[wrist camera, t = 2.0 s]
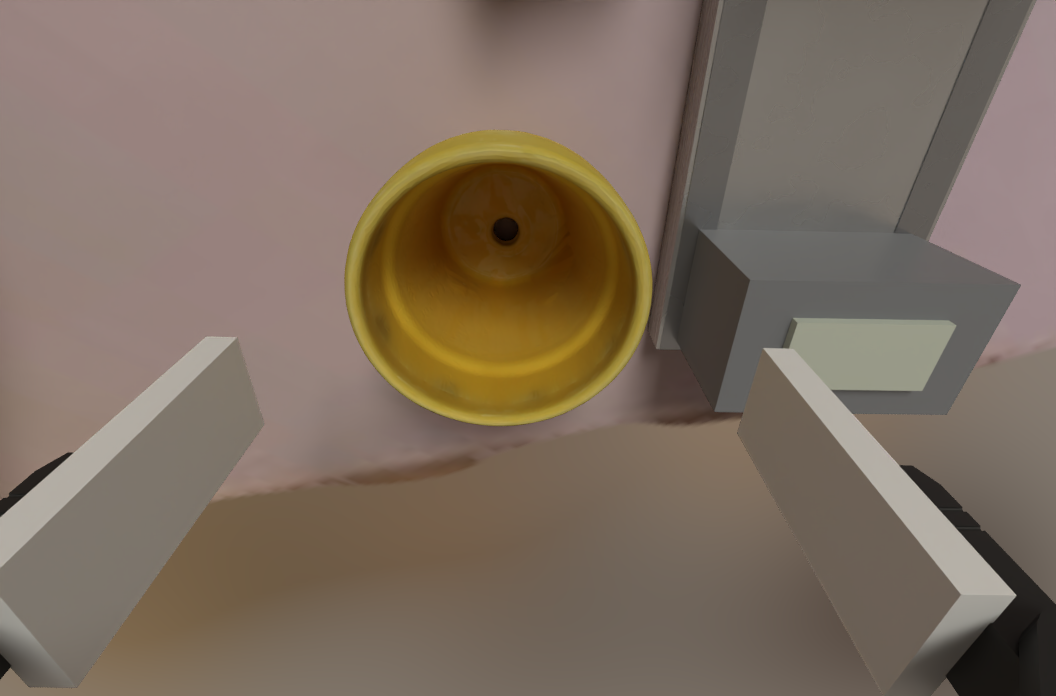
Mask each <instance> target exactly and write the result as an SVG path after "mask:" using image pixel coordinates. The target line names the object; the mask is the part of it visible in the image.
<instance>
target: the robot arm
mask: <svg viewBox="0 0 1056 696" xmlns="http://www.w3.org/2000/svg"><path fill="white" fill-rule="evenodd" d="M263 426H264V421H263V418H262V415H261V412H260V408H259V405H258V402H257V399H256V395H255V392H254V389H253V386H252V383H251V379H250V376H249V373H248V370H247V367H246V363H245V360H244V357H243V354H242V351H241V347H240V344H239V341H238V338H237V337H205V338H204V339H203V340H202V341H201V342H200V343H198V344H197V345H196V346H195V347H194V348H193V349H192V350H190V351H189V352H188V353H187V354H186V355H185V356H184V357H182V358H181V359H180V360H179V361H178V362H177V363H176V364H175V365H173V366H172V367H171V368H170V369H169V370H168V371H167V372H165V373H164V374H163V375H162V376H161V377H160V378H159V379H157V380H156V381H155V382H154V383H153V384H152V385H151V386H149V387H148V388H147V389H146V390H145V391H144V392H143V393H141V394H140V395H139V396H138V397H137V398H136V399H135V400H133V401H132V402H131V403H130V404H129V405H128V406H127V407H125V408H124V409H123V410H122V411H121V412H120V413H119V414H118V415H116V416H115V417H114V418H113V419H112V420H111V421H110V422H108V423H107V424H106V425H105V426H104V427H103V428H102V429H100V430H99V431H98V432H97V433H96V434H95V435H94V436H92V437H91V438H90V439H89V440H88V441H87V442H86V443H84V444H83V445H82V446H81V447H80V448H79V449H78V450H76V451H75V452H74V453H66V454H65V455H63V456H61V457H59V458H58V459H56V460H54V461H52V462H50V463H49V464H47V465H45V466H43V467H42V468H40V469H38V470H36V471H35V472H34V473H32V474H31V475H30V476H29V477H28V478H27V479H25V480H24V481H23V482H22V483H21V484H19V485H18V486H17V487H16V488H15V489H14V490H12V491H11V492H10V493H9V497H8V498H3V499H2V500H0V679H1V678H2V677H3V676H4V674H5V673H6V672H7V671H8V669H9V668H10V667H11V669H12V670H13V671H14V672H15V673H16V674H17V675H18V676H19V677H20V678H21V679H22V680H23V681H24V682H25V683H26V684H27V686H28V687H56V688H57V687H58V688H77V687H78V686H79V684H80V683H81V682H82V680H83V679H84V677H85V676H86V675H87V673H88V672H89V670H90V669H91V668H92V666H93V665H94V663H95V662H96V660H97V659H98V658H99V656H100V655H101V654H102V652H103V651H104V649H105V648H106V646H107V645H108V644H109V642H110V641H111V639H112V638H113V637H114V635H115V634H116V632H117V631H118V629H119V628H120V627H121V625H122V623H123V622H124V621H125V620H126V618H127V617H128V616H129V614H130V613H131V611H132V610H133V608H134V607H135V606H136V604H137V603H138V601H139V600H140V599H141V597H142V596H143V594H144V593H145V592H146V590H147V589H148V587H149V586H150V585H151V583H152V582H153V580H154V579H155V578H156V576H157V575H158V573H159V572H160V571H161V569H162V568H163V566H164V565H165V563H166V562H167V561H168V559H169V558H170V557H171V555H172V554H173V552H174V551H175V550H176V548H177V547H178V545H179V544H180V542H181V541H182V540H183V538H184V537H185V535H186V534H187V533H188V531H189V530H190V528H191V527H192V526H193V524H194V522H195V521H196V520H197V518H198V517H199V516H200V514H201V513H202V512H203V510H204V509H205V507H206V506H207V505H208V503H209V502H210V500H211V499H212V498H213V496H214V495H215V493H216V492H217V490H218V489H219V488H220V486H221V485H222V483H223V482H224V481H225V479H226V478H227V476H228V475H229V474H230V472H231V471H232V469H233V468H234V467H235V465H236V464H237V462H238V461H239V460H240V458H241V457H242V455H243V454H244V453H245V451H246V450H247V448H248V447H249V446H250V444H251V443H252V441H253V440H254V438H255V437H256V436H257V434H258V433H259V431H260V430H261V429H262V427H263ZM737 434H738V436H739V437H740V439H741V441H742V443H743V444H744V446H745V448H746V450H747V452H748V454H749V455H750V457H751V459H752V461H753V463H754V464H755V466H756V468H757V470H758V471H759V473H760V475H761V477H762V479H763V481H764V482H765V484H766V486H767V488H768V489H769V491H770V493H771V495H772V497H773V499H774V500H775V502H776V504H777V506H778V508H779V510H780V511H781V513H782V515H783V517H784V519H785V520H786V522H787V524H788V526H789V528H790V529H791V531H792V533H793V535H794V537H795V538H796V540H797V542H798V544H799V546H800V547H801V549H802V551H803V553H804V554H805V556H806V558H807V560H808V562H809V564H810V565H811V567H812V569H813V571H814V573H815V574H816V576H817V578H818V580H819V582H820V583H821V585H822V587H823V589H824V590H825V592H826V594H827V596H828V598H829V599H830V602H831V603H832V605H833V607H834V608H835V610H836V612H837V614H838V616H839V618H840V620H841V621H842V623H843V625H844V627H845V629H846V630H847V632H848V634H849V636H850V637H851V639H852V641H853V643H854V645H855V647H856V648H857V650H858V652H859V654H860V656H861V657H862V659H863V661H864V663H865V665H866V666H867V668H868V670H869V672H870V674H871V675H872V677H873V679H874V681H875V683H876V684H877V686H878V688H879V690H880V692H881V694H882V695H883V696H931V695H932V694H933V692H934V691H935V690H936V689H937V688H938V687H939V686H940V684H941V683H942V682H943V681H944V680H945V679H946V677H947V679H948V680H949V682H950V683H951V684H952V686H953V687H954V689H955V691H956V692H957V693H958V695H959V696H1056V604H1055V603H1054V602H1053V601H1052V600H1051V599H1050V598H1049V597H1048V596H1047V595H1046V594H1045V593H1044V592H1043V591H1042V590H1041V589H1040V588H1039V587H1038V585H1036V583H1034V581H1033V580H1032V579H1031V578H1030V577H1029V576H1028V575H1027V574H1026V573H1025V572H1024V571H1023V570H1022V569H1021V568H1020V567H1019V566H1018V565H1017V564H1016V563H1015V562H1014V561H1013V559H1012V558H1011V557H1010V556H1009V555H1008V554H1007V553H1006V552H1005V551H1004V550H1003V549H1002V548H1001V547H1000V546H999V545H998V544H997V543H996V542H995V541H994V540H993V539H992V538H991V537H990V536H989V534H988V533H987V532H986V531H981V529H980V525H979V524H978V523H977V522H976V521H975V520H974V519H973V518H972V517H971V516H970V515H969V514H968V513H967V512H963V510H962V506H961V505H960V504H959V503H958V502H957V501H956V500H955V499H954V498H953V497H952V496H951V495H950V494H949V493H948V492H947V491H946V490H945V489H944V488H943V487H942V486H941V485H940V484H939V483H937V482H936V481H934V480H933V479H931V478H930V477H928V476H927V475H925V474H924V473H922V472H921V471H920V470H918V469H917V468H915V467H914V466H903V465H898V464H897V463H896V462H895V461H894V459H893V458H892V457H891V456H890V455H889V454H888V453H887V452H886V451H885V449H884V448H883V447H882V446H881V445H880V444H879V443H878V442H877V441H876V440H875V438H874V437H873V436H872V435H871V434H870V433H869V432H868V431H867V430H866V429H865V427H864V426H863V425H862V424H861V423H860V422H859V421H858V420H857V419H856V417H855V416H854V415H853V414H852V413H851V412H850V411H849V410H848V409H847V407H846V406H845V405H844V404H843V403H842V402H841V401H840V400H839V399H838V397H837V396H836V395H835V394H834V393H833V392H832V391H831V390H830V389H829V388H828V386H827V385H826V384H825V383H824V382H823V381H822V380H821V379H820V378H819V376H818V375H817V374H816V373H815V372H814V371H813V370H812V369H811V368H810V367H809V365H808V364H807V363H806V362H805V361H804V360H803V359H802V358H801V357H800V355H799V354H798V353H797V352H796V351H795V350H794V349H785V348H763V350H762V353H761V356H760V360H759V363H758V366H757V370H756V373H755V376H754V379H753V383H752V386H751V389H750V392H749V396H748V399H747V402H746V405H745V409H744V412H743V415H742V419H741V422H740V425H739V428H738V432H737Z"/></svg>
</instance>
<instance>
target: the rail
mask: <svg viewBox="0 0 1056 696" xmlns="http://www.w3.org/2000/svg"><path fill="white" fill-rule="evenodd" d="M1035 3H1036V0H703V4H702V10H701V16H700V22H699V28H698V34H697V40H696V46H695V52H694V58H693V64H692V70H691V76H690V82H689V87H688V93H687V99H686V105H685V111H684V117H683V123H682V129H681V135H680V141H679V147H678V153H677V159H676V165H675V171H674V177H673V183H672V189H671V195H670V201H669V207H668V213H667V219H666V225H665V231H664V237H663V243H662V249H661V254H660V260H659V266H658V272H657V278H656V284H655V290H654V296H653V302H652V308H651V314H650V320H649V326H648V332H649V335H650V337H651V339H652V341H653V344H654V346H655V348H656V349H660V350H681V349H680V347H679V345H678V343H677V337H678V332H679V328H680V323H681V318H682V313H683V308H684V303H685V298H686V293H687V288H688V283H689V279H690V274H691V269H692V264H693V259H694V254H695V249H696V244H697V239H698V234H699V230H700V229H702V230H717V229H721V230H770V231H820V232H869V233H900V234H913V235H915V236H918V237H920V238H922V239H924V240H926V241H929V239H930V236H931V234H932V232H933V230H934V227H935V225H936V223H937V221H938V219H939V216H940V214H941V212H942V210H943V207H944V205H945V203H946V201H947V199H948V196H949V194H950V192H951V190H952V187H953V185H954V183H955V181H956V178H957V176H958V174H959V172H960V170H961V167H962V165H963V163H964V161H965V158H966V156H967V154H968V152H969V150H970V147H971V145H972V143H973V141H974V138H975V136H976V134H977V132H978V129H979V127H980V125H981V123H982V121H983V118H984V116H985V114H986V112H987V109H988V107H989V105H990V103H991V101H992V98H993V96H994V94H995V92H996V89H997V87H998V85H999V83H1000V81H1001V78H1002V76H1003V74H1004V72H1005V69H1006V67H1007V65H1008V63H1009V60H1010V58H1011V56H1012V54H1013V52H1014V49H1015V47H1016V45H1017V43H1018V40H1019V38H1020V36H1021V34H1022V32H1023V29H1024V27H1025V25H1026V23H1027V20H1028V18H1029V16H1030V14H1031V11H1032V9H1033V7H1034V5H1035Z"/></svg>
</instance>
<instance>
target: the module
mask: <svg viewBox="0 0 1056 696" xmlns="http://www.w3.org/2000/svg"><path fill="white" fill-rule="evenodd" d="M1020 286H1021V285H1020V284H1018V283H1016V282H1014V281H1012V280H1010V279H1008V278H1005V277H1003V276H1001V275H999V274H997V273H995V272H993V271H990V270H988V269H986V268H984V267H982V266H980V265H978V264H975V263H973V262H971V261H969V260H967V259H965V258H963V257H960V256H958V255H956V254H954V253H952V252H950V251H948V250H945V249H943V248H941V247H939V246H937V245H935V244H933V243H930V242H928V241H926V240H924V239H922V238H920V237H918V236H915V235H913V234H900V233H869V232H820V231H770V230H721V229H717V230H702V229H700V230H699V234H698V239H697V244H696V249H695V254H694V259H693V264H692V269H691V274H690V279H689V283H688V288H687V293H686V298H685V303H684V308H683V313H682V318H681V323H680V328H679V332H678V337H677V343H678V345H679V347H680V349H681V351H682V353H683V354H684V356H685V358H686V360H687V362H688V364H689V366H690V367H691V369H692V371H693V373H694V375H695V377H696V379H697V381H698V382H699V384H700V386H701V388H702V390H703V392H704V394H705V395H706V397H707V399H708V401H709V403H710V405H711V407H712V408H713V410H714V412H744V409H745V405H746V402H747V399H748V396H749V392H750V389H751V386H752V383H753V379H754V376H755V373H756V370H757V366H758V363H759V360H760V356H761V353H762V350H763V348H785V349H794V350H795V351H796V352H797V353H798V354H799V355H800V357H801V358H802V359H803V360H804V361H805V362H806V363H807V364H808V365H809V367H810V368H811V369H812V370H813V371H814V372H815V373H816V374H817V375H818V376H819V378H820V379H821V380H822V381H823V382H824V383H825V384H826V385H827V386H828V388H829V389H830V390H831V391H832V392H833V393H834V394H835V395H836V396H837V397H838V399H839V400H840V401H841V402H842V403H843V404H844V405H845V406H846V407H847V409H848V410H849V411H850V412H851V413H852V414H926V415H927V414H929V415H934V414H935V415H947V413H948V411H949V410H950V408H951V406H952V404H953V403H954V401H955V399H956V397H957V396H958V394H959V392H960V391H961V389H962V387H963V385H964V384H965V382H966V380H967V378H968V377H969V375H970V373H971V371H972V370H973V368H974V366H975V364H976V363H977V361H978V359H979V358H980V356H981V354H982V352H983V351H984V349H985V347H986V345H987V344H988V342H989V340H990V338H991V337H992V335H993V333H994V331H995V330H996V328H997V326H998V324H999V323H1000V321H1001V319H1002V317H1003V316H1004V314H1005V312H1006V310H1007V309H1008V307H1009V305H1010V304H1011V302H1012V300H1013V298H1014V297H1015V295H1016V293H1017V291H1018V290H1019V288H1020Z"/></svg>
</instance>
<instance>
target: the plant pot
mask: <svg viewBox="0 0 1056 696" xmlns="http://www.w3.org/2000/svg"><path fill="white" fill-rule="evenodd" d="M506 217H507V218H512V219H513V220H514V221H516V223H517V224H518V233H517V235H516V236H515V238H513V239H512V240H510V241H503V240H500V239H499V238H497V237H496V235H495V234H494V231H493V227H494V224H495V222H496V221H497V220H499V219H501V218H506ZM344 279H345V298H346V305H347V310H348V315H349V318H350V322H351V325H352V328H353V331H354V333H355V336H356V338H357V340H358V342H359V344H360V346H361V348H362V350H363V351H364V353H365V355H366V356H367V358H368V359H369V361H370V362H371V363H372V365H373V366H374V367H375V369H376V370H377V371H378V372H379V373H380V375H381V376H382V377H383V378H384V379H385V380H386V381H387V382H388V383H389V384H390V385H391V386H392V387H394V388H395V389H396V390H397V391H398V392H400V393H401V394H402V395H404V396H405V397H407V398H408V399H409V400H411V401H412V402H414V403H416V404H418V405H419V406H421V407H423V408H425V409H427V410H430V411H432V412H434V413H436V414H439V415H442V416H444V417H448V418H451V419H454V420H458V421H461V422H466V423H471V424H477V425H487V426H515V425H524V424H530V423H534V422H540V421H543V420H547V419H550V418H553V417H556V416H559V415H562V414H564V413H566V412H568V411H570V410H572V409H574V408H576V407H578V406H580V405H582V404H583V403H585V402H587V401H588V400H590V399H591V398H592V397H594V396H595V395H597V394H598V393H599V392H600V391H602V390H603V389H604V388H605V387H606V386H607V385H609V384H610V383H611V382H612V381H613V380H614V379H615V378H616V377H617V375H618V374H619V373H620V372H621V371H622V369H623V368H624V367H625V366H626V364H627V363H628V361H629V360H630V358H631V357H632V355H633V354H634V352H635V350H636V348H637V346H638V344H639V342H640V340H641V338H642V335H643V333H644V330H645V327H646V324H647V321H648V317H649V312H650V307H651V300H652V270H651V264H650V258H649V254H648V250H647V247H646V244H645V241H644V238H643V236H642V233H641V231H640V229H639V226H638V224H637V222H636V220H635V219H634V217H633V215H632V213H631V212H630V210H629V209H628V207H627V206H626V204H625V203H624V201H623V200H622V198H621V197H620V196H619V194H618V193H617V192H616V191H615V189H614V188H613V187H612V186H611V184H610V183H609V182H608V181H607V180H606V179H605V178H604V177H603V176H602V175H601V174H600V173H599V172H598V171H597V170H596V169H595V168H594V167H593V166H592V165H591V164H589V163H588V162H587V161H586V160H585V159H583V158H582V157H581V156H579V155H578V154H576V153H575V152H573V151H572V150H570V149H568V148H566V147H565V146H563V145H560V144H558V143H556V142H554V141H552V140H549V139H547V138H544V137H540V136H537V135H533V134H530V133H526V132H520V131H509V130H485V131H477V132H471V133H466V134H462V135H459V136H456V137H452V138H449V139H447V140H445V141H442V142H440V143H437V144H436V145H434V146H432V147H430V148H428V149H426V150H425V151H423V152H422V153H420V154H419V155H417V156H416V157H414V158H413V159H411V160H410V161H409V162H408V163H406V164H405V165H404V166H403V167H402V168H401V169H400V170H398V171H397V172H396V173H395V174H394V175H393V176H392V177H391V178H390V179H389V180H388V181H387V182H386V184H385V185H384V186H383V187H382V188H381V189H380V190H379V192H378V193H377V194H376V195H375V197H374V198H373V199H372V201H371V202H370V203H369V205H368V206H367V208H366V210H365V211H364V213H363V214H362V216H361V218H360V220H359V222H358V224H357V226H356V229H355V231H354V233H353V236H352V239H351V242H350V245H349V249H348V254H347V260H346V266H345V278H344Z"/></svg>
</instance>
